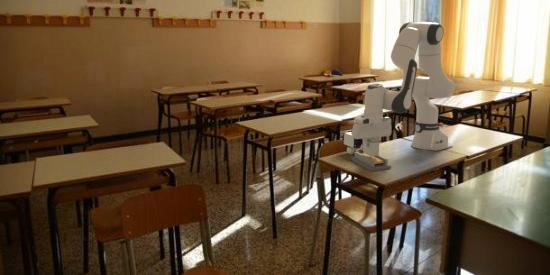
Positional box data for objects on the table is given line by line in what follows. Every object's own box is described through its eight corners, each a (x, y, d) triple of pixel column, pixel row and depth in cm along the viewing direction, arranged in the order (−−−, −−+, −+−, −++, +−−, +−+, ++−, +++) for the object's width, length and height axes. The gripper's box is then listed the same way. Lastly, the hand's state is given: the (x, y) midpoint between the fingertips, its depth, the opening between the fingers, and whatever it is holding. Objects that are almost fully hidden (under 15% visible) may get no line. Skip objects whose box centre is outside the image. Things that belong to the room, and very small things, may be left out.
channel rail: (369, 157, 214) (370, 149, 213) (390, 168, 198) (391, 159, 196) (351, 160, 210) (351, 151, 209) (371, 171, 194) (371, 162, 193)
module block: (370, 151, 206) (371, 136, 204) (378, 155, 200) (379, 139, 198) (363, 152, 205) (364, 136, 203) (371, 156, 199) (372, 140, 197)
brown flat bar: (367, 154, 211) (367, 152, 210) (383, 162, 198) (383, 160, 198) (358, 156, 209) (358, 154, 208) (374, 164, 196) (374, 162, 196)
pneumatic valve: (355, 157, 215) (356, 134, 212) (341, 151, 225) (341, 130, 222) (363, 155, 218) (364, 133, 215) (348, 150, 228) (349, 128, 225)
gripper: (387, 115, 204) (385, 142, 208) (351, 118, 197) (349, 146, 201) (395, 117, 199) (393, 145, 202) (358, 121, 192) (356, 149, 195)
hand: (371, 146), depth 201 cm, fingers closed on module block, 4 cm apart
